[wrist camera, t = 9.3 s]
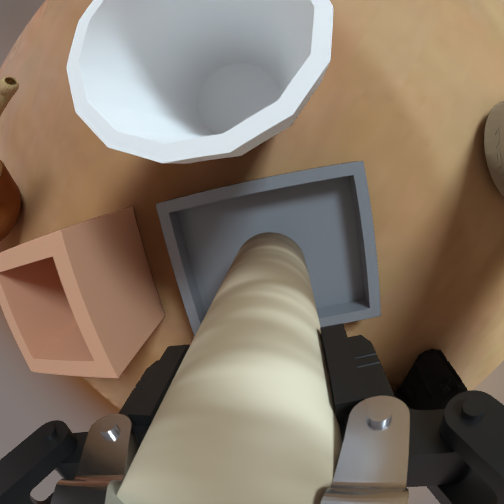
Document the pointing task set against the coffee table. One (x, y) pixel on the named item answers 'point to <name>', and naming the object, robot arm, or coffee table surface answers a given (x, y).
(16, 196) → the smoking pipe
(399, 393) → the film camera
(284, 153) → the coffee table surface
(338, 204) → the tray
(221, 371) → the maple dowel
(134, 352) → the deep box
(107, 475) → the robot arm
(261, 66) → the foam cup
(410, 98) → the coffee table surface
